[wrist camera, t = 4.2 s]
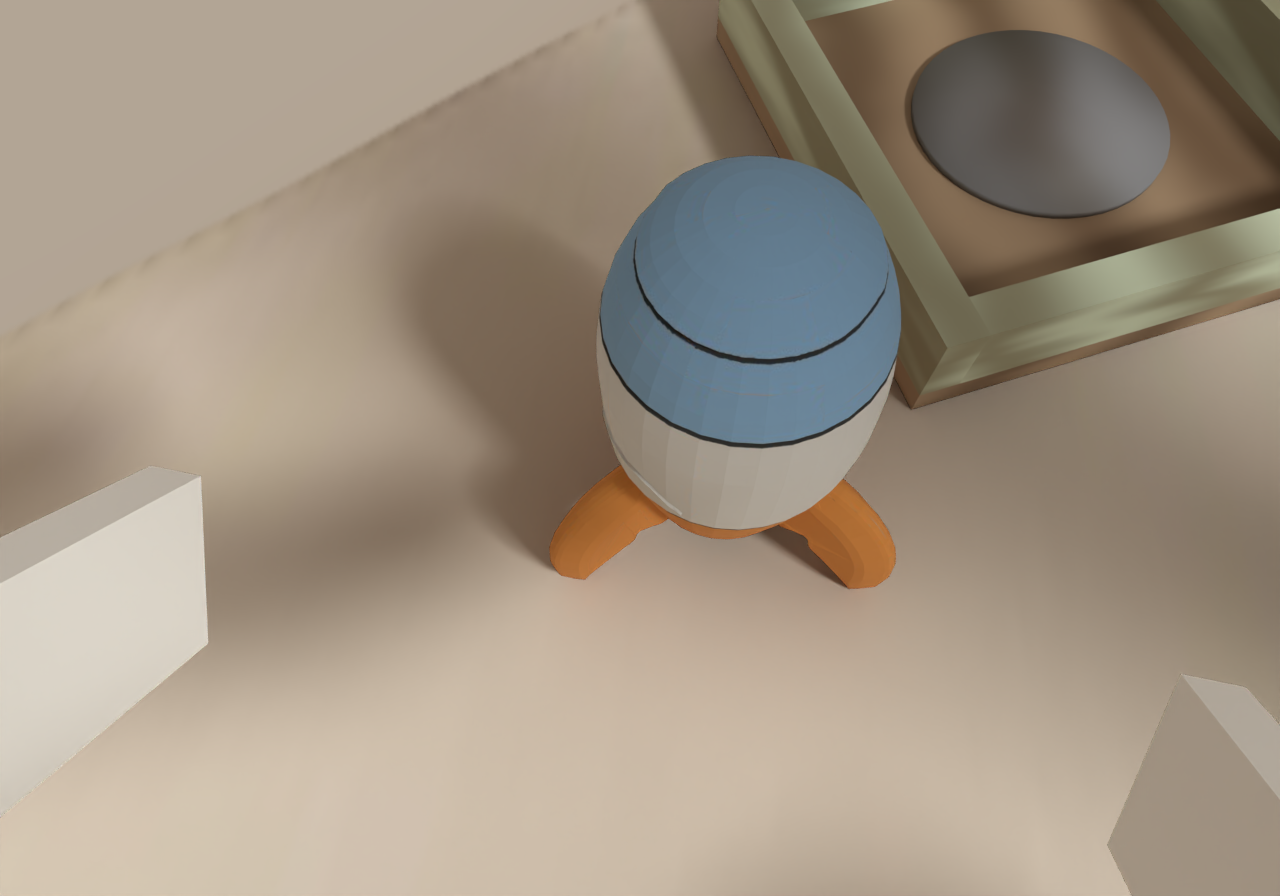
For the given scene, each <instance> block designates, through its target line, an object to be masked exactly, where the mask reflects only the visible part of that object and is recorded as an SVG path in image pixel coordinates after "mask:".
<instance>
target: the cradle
mask: <svg viewBox="0 0 1280 896" xmlns="http://www.w3.org/2000/svg"><path fill="white" fill-rule="evenodd" d="M717 38H718V40H719V42H720V44H721V46H722V48H723V50H724V52H725V54H726V55H727V57H728V59H729V61H730V63H731V65H732V67H733V69H734V71H735V73H736V75H737V77H738V78H739V80H740V82H741V84H742V86H743V88H744V90H745V92H746V94H747V96H748V98H749V100H750V101H751V103H752V105H753V107H754V109H755V111H756V113H757V115H758V117H759V119H760V121H761V123H762V124H763V126H764V128H765V130H766V132H767V134H768V136H769V138H770V140H771V142H772V144H773V146H774V147H775V149H776V151H777V153H778V155H779V157H780V158H783V159H788V160H793V161H797V162H800V163H803V164H806V165H809V166H812V167H814V168H817V169H819V170H821V171H823V172H825V173H827V174H829V175H831V176H832V177H834V178H836V179H838V180H839V181H841V182H842V183H843V184H845V185H846V186H847V187H848V188H850V189H851V190H852V191H854V192H855V193H856V194H857V195H858V196H859V197H860V198H861V199H862V201H863V202H864V203H865V204H866V205H867V206H868V207H869V208H870V210H871V211H872V213H873V215H874V216H875V218H876V220H877V222H878V223H879V225H880V227H881V229H882V232H883V235H884V238H885V241H886V245H887V247H888V249H889V252H890V256H891V259H892V262H893V265H894V268H895V272H896V277H897V282H898V287H899V293H900V307H901V336H900V342H899V348H898V354H897V359H896V365H895V371H894V377H895V379H896V381H897V383H898V385H899V387H900V389H901V391H902V393H903V395H904V397H905V399H906V400H907V402H908V404H909V406H910V408H911V410H912V409H915V408H918V407H922V406H925V405H928V404H932V403H935V402H938V401H942V400H945V399H948V398H952V397H955V396H958V395H962V394H965V393H968V392H972V391H975V390H978V389H982V388H985V387H988V386H992V385H995V384H998V383H1002V382H1005V381H1008V380H1012V379H1015V378H1018V377H1022V376H1025V375H1028V374H1032V373H1035V372H1038V371H1042V370H1045V369H1048V368H1052V367H1055V366H1058V365H1062V364H1065V363H1068V362H1072V361H1075V360H1078V359H1082V358H1085V357H1088V356H1092V355H1095V354H1098V353H1101V352H1105V351H1108V350H1111V349H1115V348H1118V347H1121V346H1125V345H1128V344H1131V343H1135V342H1138V341H1141V340H1145V339H1148V338H1151V337H1155V336H1158V335H1161V334H1165V333H1168V332H1171V331H1175V330H1178V329H1181V328H1185V327H1188V326H1191V325H1195V324H1198V323H1201V322H1205V321H1208V320H1211V319H1215V318H1218V317H1221V316H1225V315H1228V314H1231V313H1235V312H1238V311H1241V310H1245V309H1248V308H1251V307H1255V306H1258V305H1261V304H1265V303H1268V302H1271V301H1275V300H1278V299H1280V0H719V12H718V25H717Z"/></svg>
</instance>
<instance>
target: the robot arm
mask: <svg viewBox="0 0 1280 896" xmlns="http://www.w3.org/2000/svg"><path fill="white" fill-rule="evenodd" d="M207 644H208V624H207V602H206V579H205V556H204V534H203V511H202V488H201V476H200V475H195V474H190V473H185V472H180V471H175V470H170V469H165V468H160V467H155V466H149V467H147V468H145V469H143V470H140V471H138V472H136V473H134V474H132V475H130V476H128V477H126V478H124V479H122V480H119V481H117V482H115V483H113V484H111V485H109V486H107V487H105V488H103V489H101V490H99V491H96V492H94V493H92V494H90V495H88V496H86V497H84V498H82V499H80V500H78V501H75V502H73V503H71V504H69V505H67V506H65V507H63V508H61V509H59V510H57V511H55V512H52V513H50V514H48V515H46V516H44V517H42V518H40V519H38V520H36V521H34V522H31V523H29V524H27V525H25V526H23V527H21V528H19V529H17V530H15V531H13V532H11V533H8V534H6V535H4V536H2V537H0V817H1V816H3V815H4V814H5V813H6V812H7V811H8V810H10V809H11V808H12V807H13V806H14V805H16V804H17V803H18V802H19V801H20V800H22V799H23V798H24V797H25V796H26V795H28V794H29V793H30V792H31V791H32V790H34V789H35V788H36V787H37V786H38V785H40V784H41V783H42V782H43V781H44V780H46V779H47V778H48V777H49V776H50V775H52V774H53V773H54V772H55V771H56V770H58V769H59V768H60V767H61V766H62V765H63V764H65V763H66V762H67V761H68V760H69V759H71V758H72V757H73V756H74V755H75V754H77V753H78V752H79V751H80V750H81V749H83V748H84V747H85V746H86V745H87V744H89V743H90V742H91V741H92V740H93V739H95V738H96V737H97V736H98V735H99V734H101V733H102V732H103V731H104V730H105V729H107V728H108V727H109V726H110V725H111V724H113V723H114V722H115V721H116V720H117V719H118V718H120V717H121V716H122V715H123V714H124V713H126V712H127V711H128V710H129V709H130V708H132V707H133V706H134V705H135V704H136V703H138V702H139V701H140V700H141V699H142V698H144V697H145V696H146V695H147V694H148V693H150V692H151V691H152V690H153V689H154V688H156V687H157V686H158V685H159V684H160V683H162V682H163V681H164V680H165V679H166V678H167V677H169V676H170V675H171V674H172V673H173V672H175V671H176V670H177V669H178V668H179V667H181V666H182V665H183V664H184V663H185V662H187V661H188V660H189V659H190V658H191V657H193V656H194V655H195V654H196V653H197V652H199V651H200V650H201V649H202V648H203V647H205V646H206V645H207ZM1107 845H1108V848H1109V850H1110V852H1111V854H1112V856H1113V858H1114V860H1115V862H1116V864H1117V866H1118V868H1119V870H1120V872H1121V875H1122V877H1123V879H1124V881H1125V883H1126V885H1127V887H1128V889H1129V891H1130V893H1131V895H1132V896H1280V725H1279V724H1278V722H1277V721H1276V720H1275V719H1274V718H1273V717H1272V716H1271V715H1270V713H1269V712H1268V711H1267V710H1266V709H1265V708H1264V707H1263V706H1262V705H1261V703H1260V702H1259V701H1258V700H1257V699H1256V698H1255V697H1254V696H1253V694H1252V693H1251V692H1250V691H1249V690H1248V689H1247V688H1246V687H1244V686H1239V685H1234V684H1229V683H1224V682H1219V681H1214V680H1209V679H1204V678H1199V677H1194V676H1189V675H1184V674H1180V677H1179V679H1178V681H1177V683H1176V686H1175V688H1174V690H1173V693H1172V695H1171V697H1170V700H1169V702H1168V704H1167V707H1166V709H1165V711H1164V714H1163V716H1162V718H1161V721H1160V723H1159V725H1158V728H1157V730H1156V732H1155V735H1154V737H1153V739H1152V742H1151V744H1150V746H1149V749H1148V751H1147V753H1146V756H1145V758H1144V760H1143V763H1142V765H1141V767H1140V770H1139V772H1138V774H1137V777H1136V779H1135V781H1134V784H1133V786H1132V788H1131V791H1130V793H1129V795H1128V798H1127V800H1126V802H1125V805H1124V807H1123V809H1122V812H1121V814H1120V816H1119V819H1118V821H1117V823H1116V826H1115V828H1114V830H1113V833H1112V835H1111V837H1110V840H1109V842H1108V844H1107Z"/></svg>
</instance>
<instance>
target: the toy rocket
mask: <svg viewBox="0 0 1280 896" xmlns="http://www.w3.org/2000/svg"><path fill="white" fill-rule="evenodd" d="M900 336H901V307H900V293H899V287H898V282H897V277H896V272H895V268H894V265H893V262H892V259H891V256H890V252H889V249H888V247H887V245H886V241H885V238H884V235H883V232H882V229H881V227H880V225H879V223H878V222H877V220H876V218H875V216H874V215H873V213H872V211H871V210H870V208H869V207H868V206H867V205H866V204H865V203H864V202H863V201H862V199H861V198H860V197H859V196H858V195H857V194H856V193H855V192H854V191H852V190H851V189H850V188H848V187H847V186H846V185H845V184H843V183H842V182H841V181H839V180H838V179H836V178H834V177H832V176H831V175H829V174H827V173H825V172H823V171H821V170H819V169H817V168H814V167H812V166H809V165H806V164H803V163H800V162H797V161H793V160H788V159H783V158H778V157H769V156H742V157H732V158H725V159H721V160H717V161H714V162H710V163H706V164H703V165H701V166H699V167H696V168H694V169H692V170H690V171H687V172H685V173H683V174H682V175H680V176H679V177H678V178H676V179H675V180H673V181H672V182H670V183H669V184H667V185H666V186H665V188H664V189H663V190H662V191H661V193H660V194H659V195H658V197H657V198H656V199H655V200H654V201H653V202H652V204H651V205H650V206H649V207H648V208H647V209H646V210H645V211H644V212H643V213H642V214H641V215H640V216H639V217H638V219H637V220H636V222H635V223H634V225H633V227H632V228H631V230H630V231H629V233H628V234H627V236H626V238H625V239H624V241H623V243H622V244H621V246H620V248H619V249H618V251H617V253H616V255H615V258H614V260H613V263H612V266H611V269H610V271H609V274H608V277H607V280H606V283H605V286H604V288H603V291H602V295H601V302H600V308H599V317H598V325H597V334H596V359H597V367H598V375H599V383H600V389H601V396H602V401H603V418H604V422H605V425H606V428H607V431H608V434H609V437H610V439H611V442H612V445H613V448H614V451H615V454H616V456H617V458H618V460H619V462H620V463H621V465H620V466H618V467H617V468H616V469H615V470H613V471H612V472H611V473H609V474H608V475H607V476H605V477H604V478H603V479H602V480H600V481H599V482H598V483H596V484H595V485H594V486H593V487H592V488H591V489H590V490H589V491H588V492H587V493H585V494H584V495H583V496H582V497H581V499H580V500H579V501H578V502H577V503H576V504H575V505H574V506H573V507H572V509H571V510H570V511H569V513H568V514H567V515H566V517H565V518H564V519H563V521H562V522H561V524H560V525H559V527H558V528H557V530H556V531H555V533H554V536H553V539H552V541H551V544H550V547H549V550H550V561H551V563H552V565H553V566H554V568H555V569H556V570H557V572H558V573H559V574H560V575H561V576H566V577H571V578H575V579H586V578H587V577H588V576H589V575H590V574H591V573H592V572H594V571H595V570H596V569H597V568H599V567H600V566H601V565H602V564H604V563H605V562H606V561H608V560H609V559H610V558H611V557H613V556H614V555H615V554H617V553H618V552H619V551H620V550H622V549H623V548H624V547H626V546H627V545H629V544H630V543H631V542H632V541H633V540H634V539H635V538H636V535H637V534H638V533H639V532H640V531H641V530H644V529H646V528H649V527H651V526H654V525H658V524H661V523H663V522H664V521H666V520H667V519H670V520H672V521H673V522H674V523H676V524H677V525H679V526H680V527H681V528H684V529H686V530H688V531H690V532H692V533H694V534H697V535H701V536H705V537H709V538H716V539H734V538H742V537H746V536H749V535H752V534H755V533H759V532H761V531H763V530H766V529H769V528H772V527H774V526H776V525H779V526H780V527H783V528H786V529H788V530H792V531H794V532H796V533H798V534H801V535H803V536H805V537H806V539H807V540H808V546H809V548H810V549H811V550H812V551H813V552H814V553H815V554H816V555H817V556H818V557H819V558H820V559H822V560H823V562H824V563H825V564H826V565H827V566H828V567H829V568H830V569H831V570H832V571H833V572H834V573H835V574H836V575H837V576H838V577H839V578H840V580H841V581H842V582H843V583H844V584H845V585H846V586H847V588H848V589H857V588H867V587H875V586H877V585H878V584H880V583H881V582H882V581H884V580H885V579H887V578H888V577H889V575H890V574H891V572H892V569H893V567H894V565H895V562H896V553H895V546H894V543H893V541H892V538H891V536H890V533H889V531H888V529H887V528H886V526H885V525H884V523H883V522H882V520H881V519H880V517H879V516H878V515H877V513H876V512H875V511H874V510H873V509H872V508H871V507H870V506H869V504H868V503H867V502H866V501H865V500H864V499H863V498H862V496H861V495H860V494H859V493H858V492H857V491H856V490H855V489H854V488H853V487H852V486H851V485H850V484H849V483H847V482H846V481H845V480H844V479H843V477H844V476H845V475H846V473H847V472H848V471H849V470H850V468H851V467H852V466H853V464H854V463H855V462H856V460H857V459H858V458H859V456H860V454H861V453H862V451H863V449H864V448H865V446H866V444H867V442H868V441H869V439H870V437H871V434H872V432H873V430H874V428H875V426H876V423H877V421H878V419H879V417H880V414H881V412H882V410H883V407H884V405H885V403H886V400H887V397H888V394H889V390H890V387H891V383H892V380H893V376H894V371H895V365H896V359H897V354H898V348H899V342H900Z"/></svg>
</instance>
